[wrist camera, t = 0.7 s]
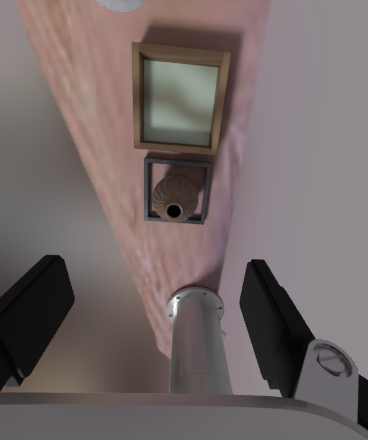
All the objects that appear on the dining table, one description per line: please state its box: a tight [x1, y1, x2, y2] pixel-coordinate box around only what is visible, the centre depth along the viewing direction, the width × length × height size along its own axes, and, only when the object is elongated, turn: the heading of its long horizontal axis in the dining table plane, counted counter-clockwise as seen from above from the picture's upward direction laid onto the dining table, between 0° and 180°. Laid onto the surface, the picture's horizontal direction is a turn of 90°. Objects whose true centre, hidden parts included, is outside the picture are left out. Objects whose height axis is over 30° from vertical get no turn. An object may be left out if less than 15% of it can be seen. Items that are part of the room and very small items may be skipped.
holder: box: [132, 42, 231, 155], centre depth 27 cm, size 12×12×3 cm
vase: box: [152, 175, 198, 223], centre depth 29 cm, size 7×7×9 cm
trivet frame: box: [144, 157, 212, 225], centre depth 33 cm, size 10×10×1 cm
